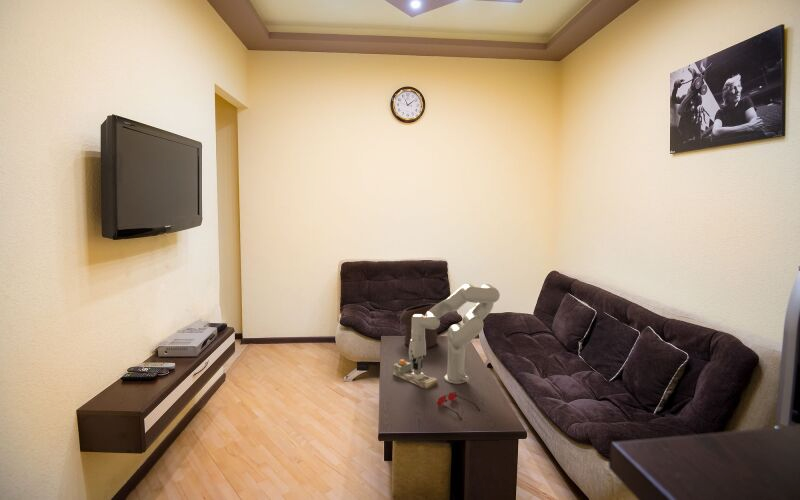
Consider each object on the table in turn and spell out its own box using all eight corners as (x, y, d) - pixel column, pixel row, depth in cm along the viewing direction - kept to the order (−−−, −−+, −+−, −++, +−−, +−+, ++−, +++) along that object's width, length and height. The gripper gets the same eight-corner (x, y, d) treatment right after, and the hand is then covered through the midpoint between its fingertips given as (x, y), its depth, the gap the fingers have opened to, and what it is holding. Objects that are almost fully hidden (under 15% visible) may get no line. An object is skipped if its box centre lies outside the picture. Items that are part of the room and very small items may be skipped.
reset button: (406, 365, 237) (406, 360, 236) (402, 367, 234) (402, 362, 234) (402, 363, 239) (402, 359, 239) (398, 365, 237) (398, 360, 237)
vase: (437, 337, 305) (438, 298, 302) (436, 349, 278) (437, 307, 275) (401, 335, 308) (402, 297, 304) (397, 348, 281) (398, 305, 278)
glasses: (454, 399, 208) (455, 389, 207) (480, 411, 195) (480, 401, 195) (435, 407, 199) (435, 397, 198) (461, 421, 186) (461, 410, 186)
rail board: (437, 384, 224) (437, 373, 223) (426, 388, 218) (426, 378, 217) (404, 370, 243) (404, 360, 242) (393, 374, 236) (393, 364, 236)
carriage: (423, 377, 228) (424, 357, 227) (417, 380, 225) (417, 360, 224) (417, 374, 232) (417, 355, 231) (411, 377, 228) (411, 357, 227)
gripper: (422, 332, 234) (422, 362, 236) (403, 338, 223) (402, 370, 225) (432, 335, 229) (432, 366, 231) (413, 341, 218) (412, 374, 219)
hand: (417, 368), depth 228 cm, fingers closed on carriage, 2 cm apart
